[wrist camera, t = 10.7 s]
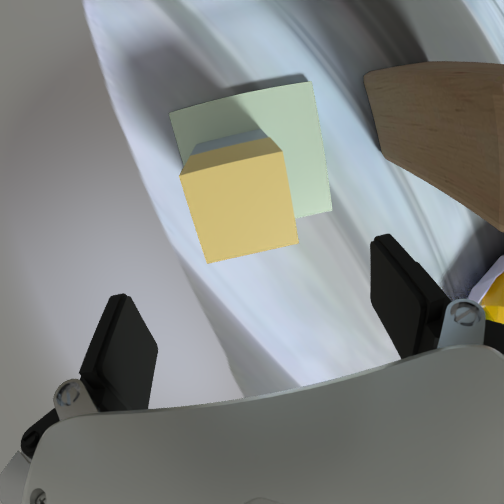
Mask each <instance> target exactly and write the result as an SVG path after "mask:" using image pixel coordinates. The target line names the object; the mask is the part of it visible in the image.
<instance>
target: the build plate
mask: <svg viewBox="0 0 504 504" xmlns="http://www.w3.org/2000/svg"><path fill="white" fill-rule="evenodd" d="M169 117H170V120H171V124H172V127H173V131H174V134H175V138H176V141H177V145H178V148H179V152H180V155H181V158H182V162H183V165H184V166H185V164H186V162H187V160H188V159H189V156H190V154H191V153H192V151H193V149H194V147H195V146H196V144H199V143H203V142H207V141H210V140H214V139H218V138H222V137H226V136H230V135H235V134H239V133H243V132H248V131H252V130H257V129H262V130H263V131H264V133H265V134H266V135H267V136H268V137H270V138H271V139H272V140H273V141H274V142H275V143H276V144H277V145H278V147H279V148H280V149H281V150H282V151H283V155H284V161H285V166H286V171H287V177H288V182H289V188H290V193H291V199H292V205H293V210H294V216H295V218H300V217H304V216H309V215H313V214H318V213H322V212H327V211H332V204H331V196H330V189H329V181H328V174H327V167H326V160H325V154H324V147H323V141H322V135H321V129H320V123H319V118H318V112H317V107H316V101H315V96H314V91H313V86H312V81H309V82H302V83H295V84H289V85H283V86H277V87H272V88H267V89H261V90H256V91H251V92H247V93H242V94H238V95H233V96H229V97H225V98H221V99H217V100H213V101H209V102H205V103H201V104H198V105H194V106H190V107H187V108H184V109H180V110H177V111H174V112H170V113H169Z"/></svg>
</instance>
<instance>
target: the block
mask: <svg viewBox="0 0 504 504" xmlns="http://www.w3.org/2000/svg"><path fill="white" fill-rule="evenodd" d="M364 85H365V88H366V92H367V95H368V99H369V102H370V106H371V110H372V113H373V117H374V121H375V125H376V129H377V133H378V138H379V142H380V146H381V151H382V154H383V156H384V157H385V159H387V160H389V161H390V162H392V163H394V164H396V165H398V166H400V167H402V168H403V169H405V170H407V171H409V172H410V173H412V174H414V175H416V176H417V177H419V178H421V179H423V180H424V181H426V182H428V183H429V184H431V185H433V186H434V187H436V188H437V189H439V190H441V191H442V192H444V193H445V194H447V195H449V196H450V197H452V198H453V199H455V200H456V201H458V202H459V203H461V204H462V205H464V206H465V207H467V208H468V209H470V210H471V211H473V212H474V213H476V214H477V215H479V216H480V217H481V218H483V219H484V220H486V221H487V222H488V223H490V224H491V225H492V226H494V227H495V228H497V229H498V230H499V231H501V232H504V64H494V63H479V62H449V61H437V62H422V63H415V64H408V65H402V66H396V67H391V68H385V69H380V70H375V71H370V72H368V73H367V74H366V75H364Z"/></svg>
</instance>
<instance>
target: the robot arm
mask: <svg viewBox="0 0 504 504" xmlns="http://www.w3.org/2000/svg"><path fill="white" fill-rule="evenodd" d="M370 253H371V292H370V298H371V303H372V306H373V308H374V309H375V311H376V313H377V315H378V316H379V318H380V320H381V322H382V324H383V325H384V327H385V329H386V331H387V333H388V335H389V336H390V338H391V340H392V342H393V344H394V346H395V348H396V350H397V351H398V353H399V355H400V357H401V360H398V361H395V362H392V363H388V364H385V365H382V366H378V367H375V368H372V369H368V370H365V371H361V372H358V373H354V374H351V375H347V376H344V377H340V378H336V379H332V380H328V381H324V382H320V383H316V384H312V385H308V386H303V387H299V388H294V389H290V390H285V391H280V392H275V393H270V394H265V395H259V396H254V397H248V398H242V399H236V400H229V401H222V402H215V403H207V404H199V405H191V406H181V407H171V408H159V409H148V404H149V398H150V393H151V387H152V381H153V376H154V370H155V365H156V359H157V354H158V347H157V343H156V342H155V340H154V338H153V336H152V335H151V333H150V331H149V329H148V328H147V326H146V324H145V322H144V321H143V319H142V317H141V315H140V313H139V311H138V310H137V308H136V306H135V304H134V302H133V301H132V298H131V297H130V296H127V295H126V294H118V295H113V296H111V297H110V298H109V301H108V303H107V305H106V307H105V310H104V312H103V314H102V316H101V319H100V321H99V323H98V326H97V328H96V331H95V333H94V335H93V338H92V340H91V343H90V345H89V348H88V350H87V353H86V356H85V358H84V361H83V363H82V366H81V369H80V371H79V373H80V375H81V378H80V380H78V379H70V380H67V381H65V382H63V383H62V384H61V385H60V386H59V387H58V389H57V390H56V392H55V394H54V398H53V402H54V406H55V408H54V409H53V410H51V411H50V412H49V413H48V414H46V415H45V416H44V417H43V418H41V419H40V420H39V421H37V422H36V423H35V424H34V425H32V426H31V427H30V428H29V429H28V430H27V431H26V432H25V433H24V435H23V437H22V440H21V449H22V451H21V452H20V451H17V452H16V453H15V455H14V456H13V457H12V459H11V460H10V462H9V463H8V464H7V466H6V467H5V468H4V470H3V471H2V472H1V474H0V501H1V503H2V504H504V324H502V323H498V322H494V321H491V320H487V319H486V316H485V311H484V309H483V308H482V307H481V306H480V305H479V304H478V303H476V302H475V301H473V300H469V299H456V300H454V301H452V302H451V300H450V299H449V298H448V297H447V295H446V294H445V293H444V292H443V291H442V289H441V288H440V287H439V286H438V285H437V284H436V282H435V281H434V280H433V279H432V278H431V276H430V275H429V274H428V273H427V272H426V271H425V270H424V268H423V267H422V266H421V265H420V264H419V263H418V262H415V261H414V259H413V258H412V257H411V256H410V255H409V254H408V253H407V252H406V251H405V250H404V248H403V247H402V246H401V245H400V244H399V243H398V242H397V241H396V240H395V239H394V238H393V237H392V235H390V234H384V235H380V236H376V237H375V238H374V241H372V242H371V244H370Z"/></svg>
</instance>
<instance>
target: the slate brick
mask: <svg viewBox="0 0 504 504" xmlns="http://www.w3.org/2000/svg"><path fill="white" fill-rule="evenodd" d="M267 137H268V136H267V135H266V134H265V133H264V131H263V130H262V129H257V130H252V131H248V132H243V133H239V134H235V135H230V136H226V137H222V138H218V139H214V140H210V141H207V142H203V143H199V144H196V146H195V147H194V149H193V151H192V153H191V154H190V156H191V155H195V154H199V153H203V152H207V151H210V150H214V149H218V148H223V147H227V146H231V145H235V144H240V143H244V142H249V141H253V140H258V139H263V138H267ZM190 156H189V157H190Z"/></svg>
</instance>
